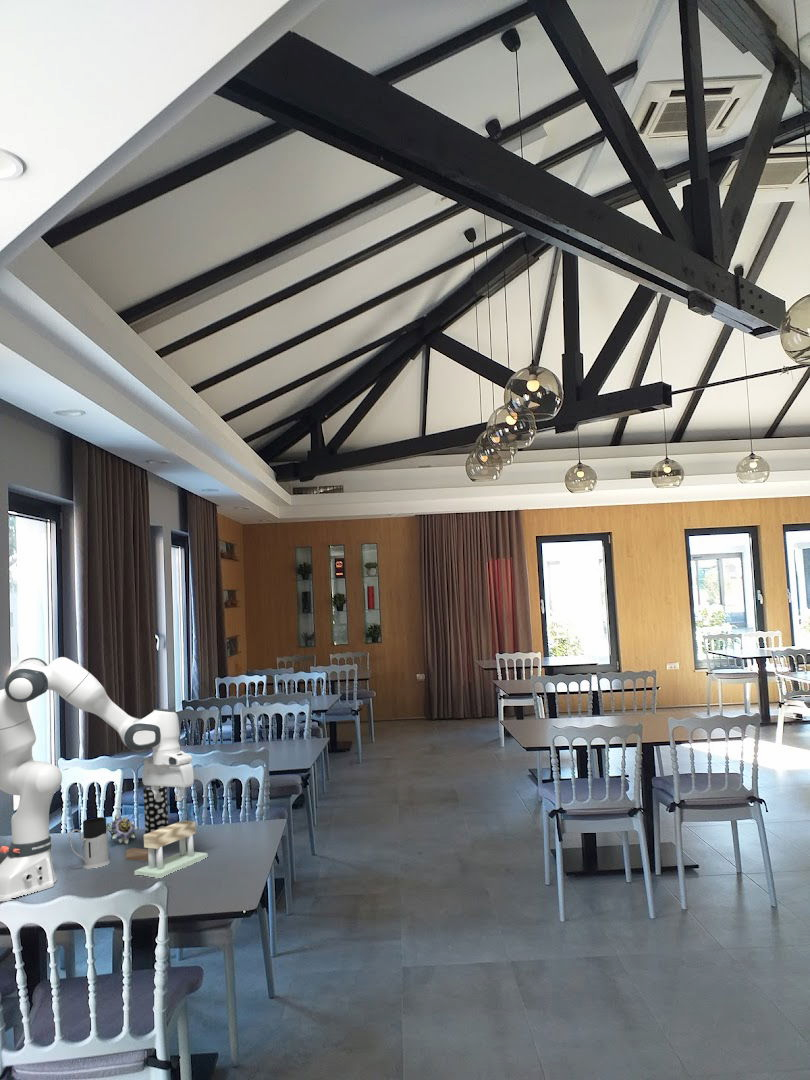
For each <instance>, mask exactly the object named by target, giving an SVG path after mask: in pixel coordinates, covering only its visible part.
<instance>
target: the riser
mask: <svg viewBox="0 0 810 1080" xmlns="http://www.w3.org/2000/svg"><path fill="white" fill-rule="evenodd" d="M125 856H126V860H131V861H137V860H143V861H142V862H145V861H148V848H137V847H132V848H129V849H126V850H125ZM148 862H149V861H148Z"/></svg>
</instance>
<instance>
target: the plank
mask: <svg viewBox="0 0 810 1080" xmlns="http://www.w3.org/2000/svg"><path fill="white" fill-rule="evenodd" d="M196 828H197V827H196V820H185V819H183V820H181V821H177V822H175V823H171V824H169V826H166V827H164V828H161V829H158V830H155V831H153V832H150V833H147V834H143V848H144V849H148V848H154V850H156V849H157V848H160V847H162V848H163V847H164V846H167V845H170V844H172V843H175V842H179V840H180V839H183V838H185V839H186V838H187V837H188V836H190V835H193V836H194V835H195V834H197V829H196Z"/></svg>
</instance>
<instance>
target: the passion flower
mask: <svg viewBox="0 0 810 1080" xmlns="http://www.w3.org/2000/svg"><path fill="white" fill-rule="evenodd" d="M128 818H129V817H128V816H125V817H124V818H122V817H119V816H118V815H115V816H114V820H113V821H112V822H111V823H109V822H108V823H107V822H106V826H107V832H109V833H110V840H113V841H115V839H116V840H117V843H118V844H120V845H121V844H122V843H123V844H124V845H128V843H129V839H135V838H136V833H135V832H136V830H137V829H138V828H139V826H136V825H135V822H134V821H131V820H130V818H129V819H128Z"/></svg>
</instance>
